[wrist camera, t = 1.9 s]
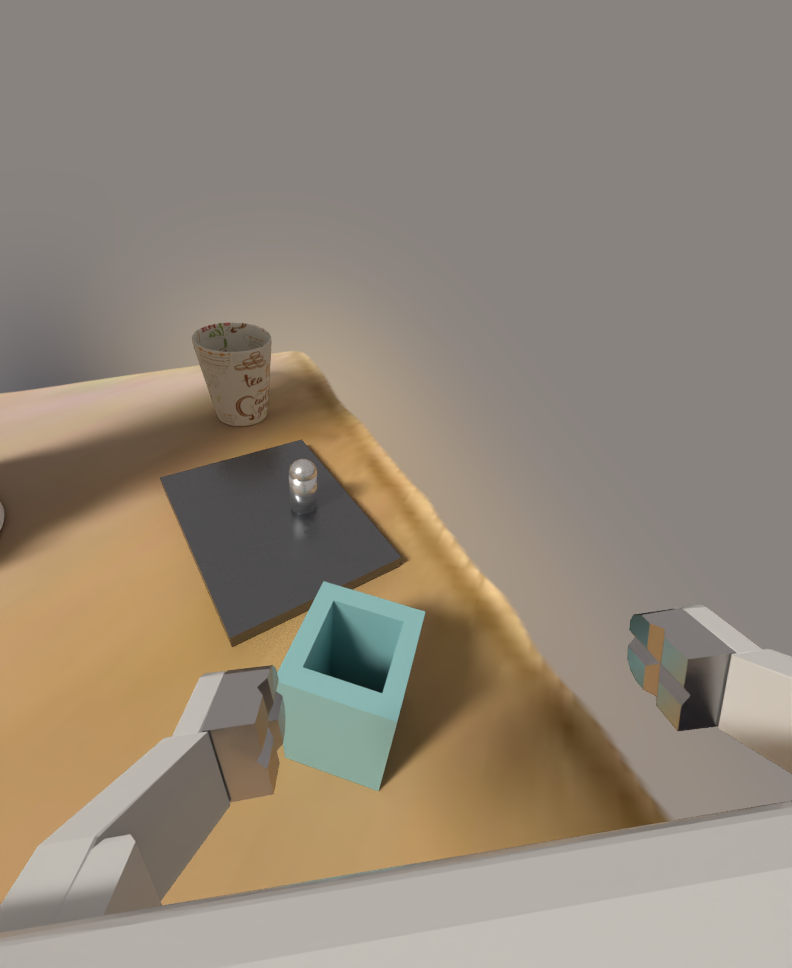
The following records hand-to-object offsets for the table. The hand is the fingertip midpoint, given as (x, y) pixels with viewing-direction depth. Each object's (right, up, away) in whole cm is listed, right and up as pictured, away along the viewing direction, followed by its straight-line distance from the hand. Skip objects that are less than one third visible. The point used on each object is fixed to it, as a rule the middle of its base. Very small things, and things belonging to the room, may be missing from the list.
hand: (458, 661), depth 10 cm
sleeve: (-5, -12, +19) cm, 22 cm away
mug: (-22, +14, +46) cm, 53 cm away
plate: (-13, 0, +31) cm, 34 cm away
